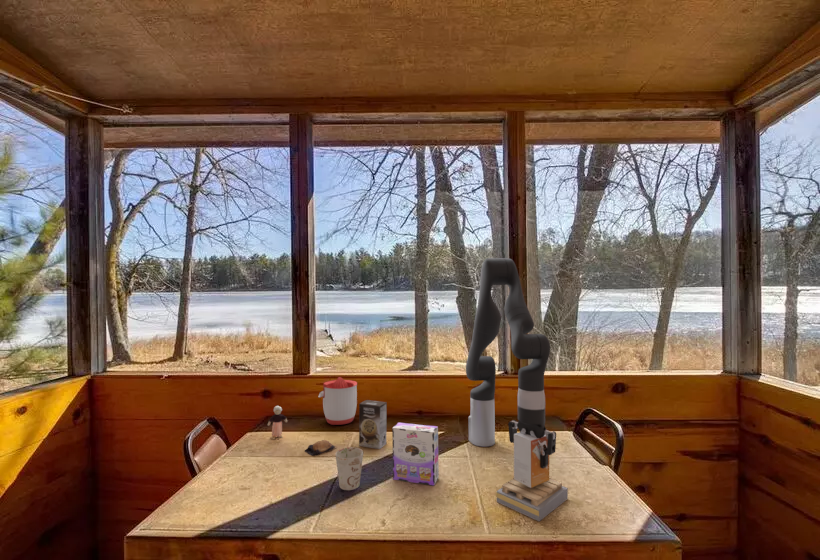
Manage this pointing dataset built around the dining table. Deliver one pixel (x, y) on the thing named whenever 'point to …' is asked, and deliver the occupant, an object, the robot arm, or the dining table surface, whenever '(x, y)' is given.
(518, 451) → the small box
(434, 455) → the candy box
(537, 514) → the rack
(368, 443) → the coffee box
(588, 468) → the dining table surface
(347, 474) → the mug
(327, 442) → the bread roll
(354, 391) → the citrus juicer
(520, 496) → the pallet
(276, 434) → the grandmother figurine
